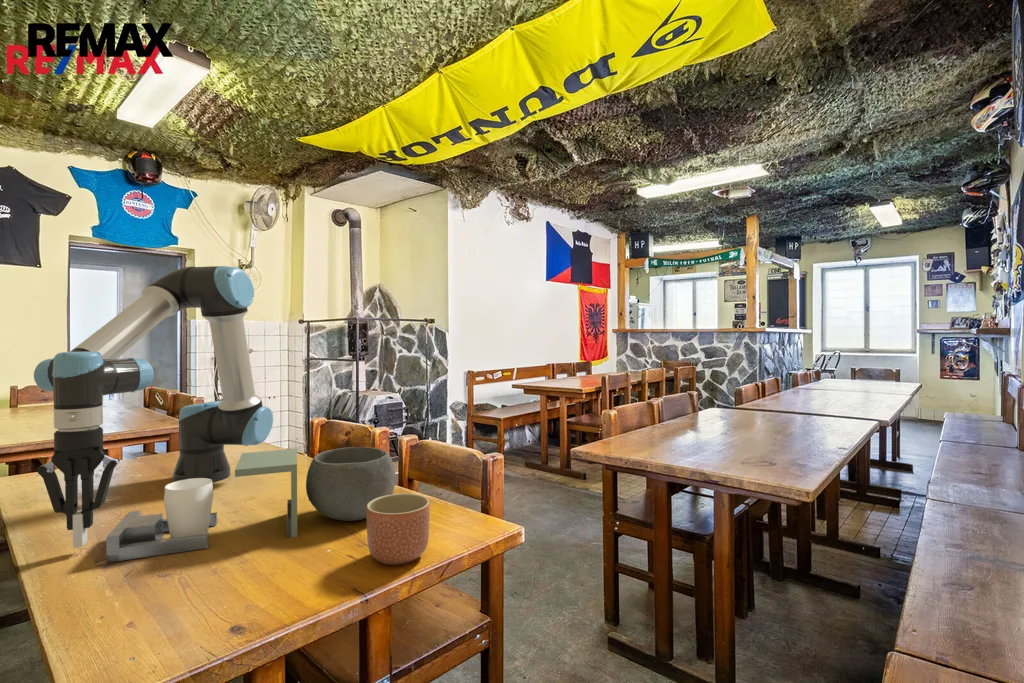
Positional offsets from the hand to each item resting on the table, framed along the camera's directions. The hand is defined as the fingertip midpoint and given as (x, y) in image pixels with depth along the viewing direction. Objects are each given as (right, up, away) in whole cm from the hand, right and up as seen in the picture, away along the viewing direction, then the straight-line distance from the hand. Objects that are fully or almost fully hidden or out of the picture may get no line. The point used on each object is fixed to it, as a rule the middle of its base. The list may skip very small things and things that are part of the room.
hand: (80, 544), depth 102 cm
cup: (+17, -2, +8) cm, 19 cm away
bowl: (+48, -2, +22) cm, 53 cm away
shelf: (+31, -2, +14) cm, 34 cm away
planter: (+65, -2, -1) cm, 65 cm away
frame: (+13, -2, +6) cm, 14 cm away
